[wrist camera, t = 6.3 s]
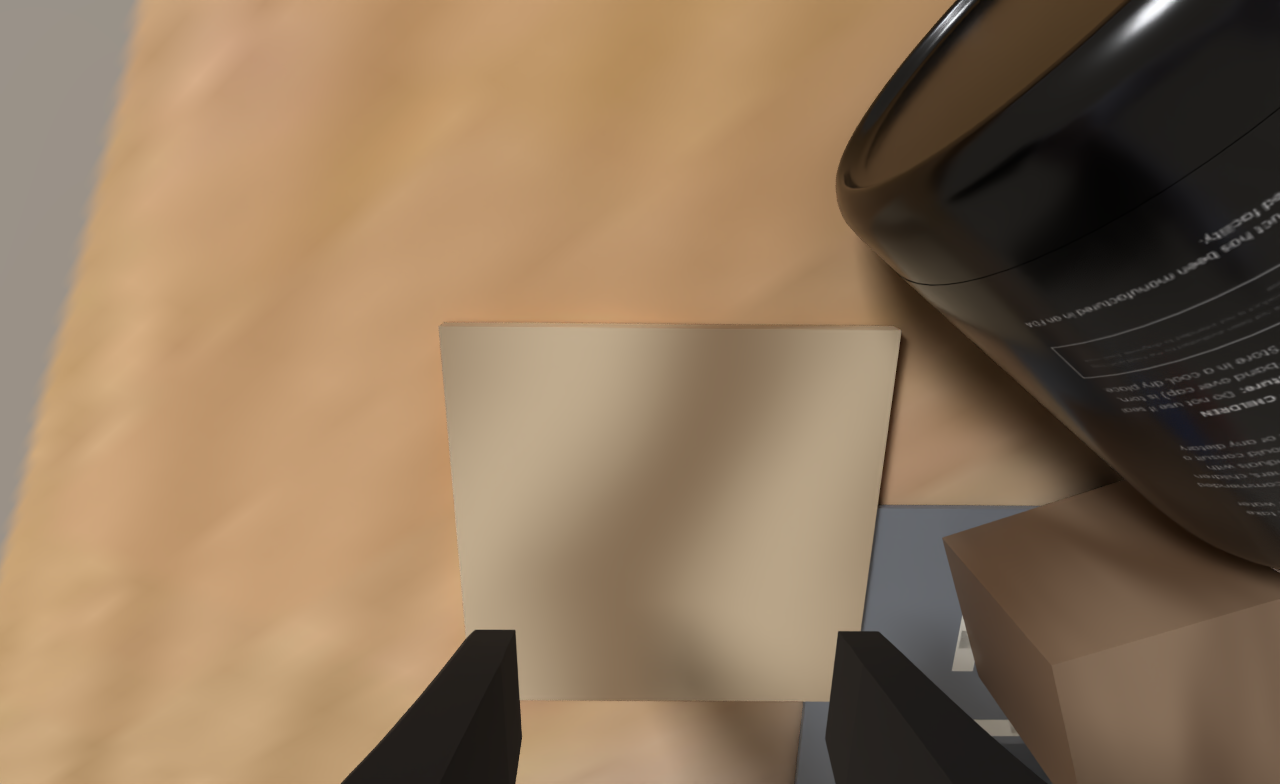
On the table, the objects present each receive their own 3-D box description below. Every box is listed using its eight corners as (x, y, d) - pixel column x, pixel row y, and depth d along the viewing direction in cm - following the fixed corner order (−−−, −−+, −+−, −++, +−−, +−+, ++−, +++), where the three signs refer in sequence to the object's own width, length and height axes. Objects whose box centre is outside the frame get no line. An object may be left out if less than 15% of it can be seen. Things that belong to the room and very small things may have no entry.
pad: (894, 325, 13) (901, 330, 13) (846, 689, 16) (851, 701, 16) (444, 321, 13) (438, 326, 13) (475, 687, 16) (471, 700, 15)
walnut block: (942, 537, 14) (1125, 479, 14) (978, 676, 16) (1148, 626, 15) (1051, 665, 11) (1308, 590, 10) (1089, 836, 12) (1320, 775, 11)
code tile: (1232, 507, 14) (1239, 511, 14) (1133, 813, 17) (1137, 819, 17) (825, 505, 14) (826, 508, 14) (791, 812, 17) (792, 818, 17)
